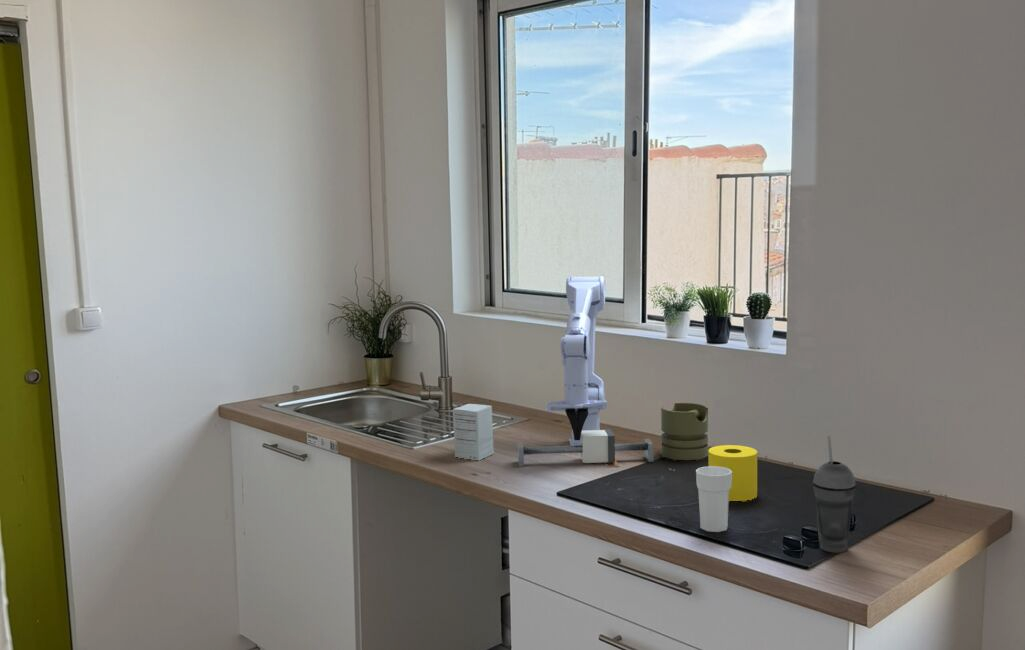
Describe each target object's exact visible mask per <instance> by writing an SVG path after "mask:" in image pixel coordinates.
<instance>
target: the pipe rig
mask: <svg viewBox="0 0 1025 650" xmlns="http://www.w3.org/2000/svg"><path fill="white" fill-rule="evenodd" d="M635 451H639V452H640V451H644V458H645V460H646V461H647V462H648V463H653V462H654V442H653V441H652V440H651V439H650V438H644V442H636V443H635V442H633V443H615V452H635ZM581 453H582V445H572V446H571V445H551V446H549V445H548V446H524V444H523V442H520V443H519V442H518V443H517V462H518V463H517V464H518V467H519V468H523V467H525V459H524V457H525V455H526V456H527V455H551V454H552V455H554V454H581ZM603 463H604V465H605V467H606V468H617V467H619V468H620V465H619V462H618V461H617V459H616V458H615V462H610V463H608V462H603Z"/></svg>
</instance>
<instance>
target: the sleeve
mask: <svg viewBox="0 0 1025 650" xmlns="http://www.w3.org/2000/svg"><path fill="white" fill-rule="evenodd" d="M580 445H582V453H580V459H581V461H582V463H583V464H591V463H592V464H593V463H604V462H608V435H607V433H606V432H605V430H604V429H600V430H586V431H582V432H581V437H580Z"/></svg>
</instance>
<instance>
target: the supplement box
mask: <svg viewBox="0 0 1025 650" xmlns="http://www.w3.org/2000/svg"><path fill="white" fill-rule="evenodd" d="M452 415H453V417H452V419H453V438H454V439H453V440H454V441H453V443H454V445H453V447H454V457H458V458H457V459H460V458H464V459H463V460H467V459H471V460H470V461H475V460H478V461H477V462H479V461H481V460H483V458H484V459H485V458H488V457H490V456H493V455H494V452H495V451H494V432H493V431H494V430H493V429H494V427H493V426H494V425H493V406H492V405H488V404H477V403H476V404H475V403H467V404H464V405H461V406H458V407H454V408H452Z"/></svg>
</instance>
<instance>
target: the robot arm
mask: <svg viewBox="0 0 1025 650" xmlns="http://www.w3.org/2000/svg"><path fill="white" fill-rule="evenodd" d="M565 294H566V299H567V303H568V304H567V305H568V306H569V309H570V310H571V311H572V313H571V314H570V315H569V316H568V318H567V321H566V326H565V335H564V336H562V337H561V339H560V353H561V361H562V363H561V364H562V366H563V389H564V392H563V394H564V400H559V401H557V400H556V401H546V402H545V410H546V412H547V413H548V412H556V411H560V412H562V411H564V412H565V415H566V416H567V418H568V421H569V423H570V426H571V438H568V441H569V444H570V446H572V445H580V437H581V432H582V431H586V430H601V428H600V411H603V410H604V411H605V410H608V402H607V400H606V392H605V382H604V380H603V379H602V378H601V377H600V376H598V375H597V374H595V357H596V356H595V353H596V351H595V350H596V348H595V347H596V321H597V317H598V313H599V312H601V311H603V310H604V309H605V305H606V279H605V277H604V276H603V275H600V276H572V275H571V276H568V277H567V279H566V282H565Z"/></svg>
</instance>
